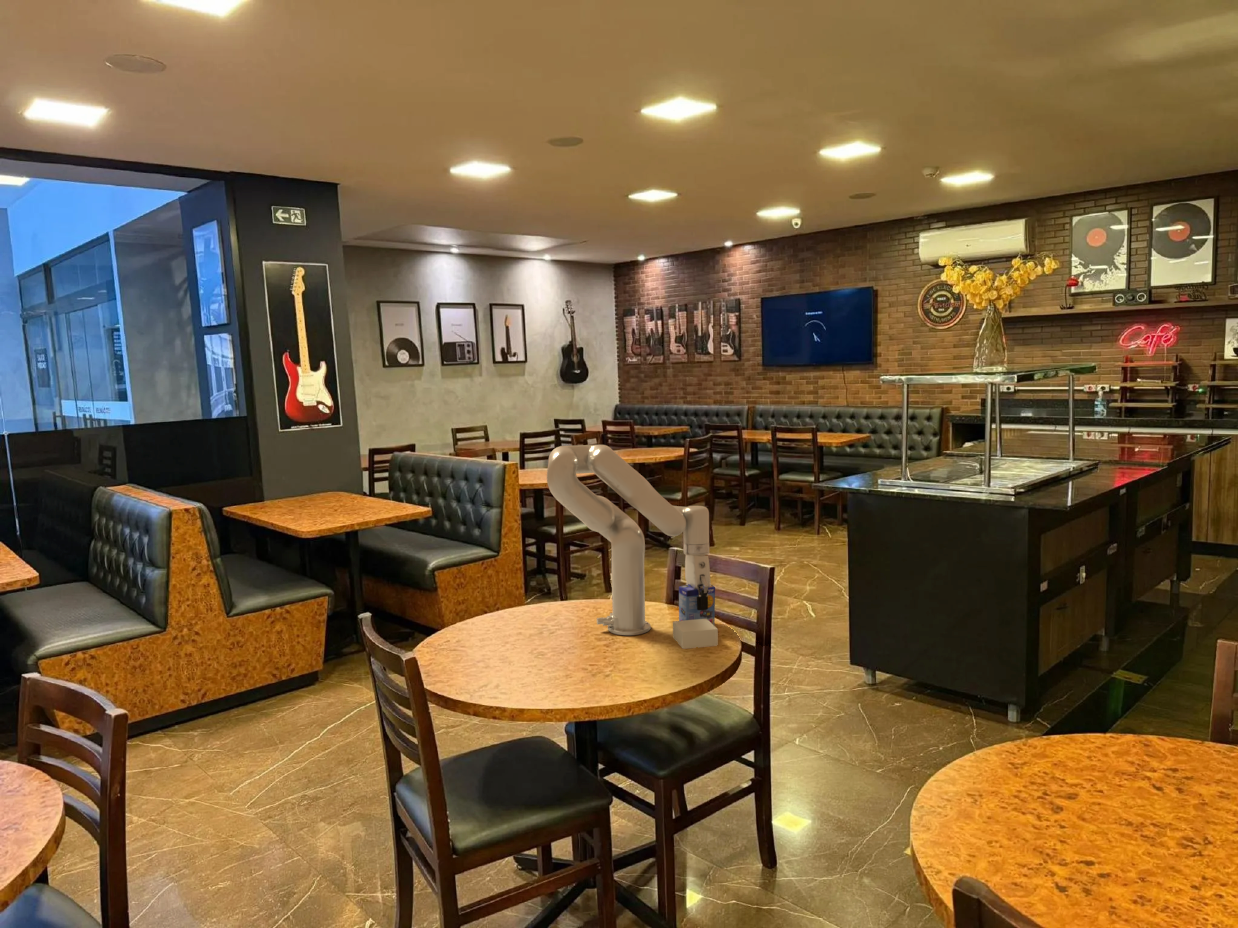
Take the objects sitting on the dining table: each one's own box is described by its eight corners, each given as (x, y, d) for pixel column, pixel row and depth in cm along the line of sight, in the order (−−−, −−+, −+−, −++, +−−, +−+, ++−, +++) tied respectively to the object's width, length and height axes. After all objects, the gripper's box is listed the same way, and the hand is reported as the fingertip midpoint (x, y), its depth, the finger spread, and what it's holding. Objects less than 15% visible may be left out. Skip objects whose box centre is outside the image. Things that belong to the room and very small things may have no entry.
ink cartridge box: (687, 631, 246) (686, 582, 244) (677, 625, 251) (677, 578, 249) (716, 626, 250) (715, 578, 248) (706, 621, 255) (706, 574, 253)
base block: (682, 649, 231) (682, 632, 230) (673, 638, 240) (672, 621, 240) (717, 646, 233) (717, 628, 232) (706, 635, 242) (706, 618, 242)
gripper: (718, 553, 240) (719, 612, 242) (698, 541, 257) (699, 596, 259) (693, 555, 238) (694, 614, 240) (675, 543, 255) (675, 598, 257)
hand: (696, 605), depth 250 cm, fingers open, 9 cm apart
